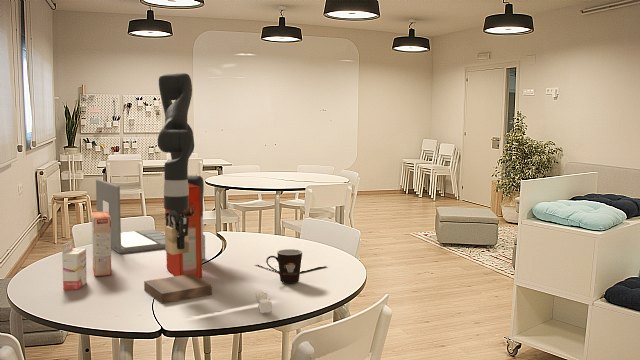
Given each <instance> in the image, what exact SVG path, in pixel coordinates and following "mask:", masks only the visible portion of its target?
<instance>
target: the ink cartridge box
mask: <svg viewBox="0 0 640 360" xmlns="http://www.w3.org/2000/svg"><path fill="white" fill-rule="evenodd" d="M61 253H62V254H61V255H62V257H61V258H62V259H61V260H62V284H63V285H62V288H63V290H65V291H67V290H79V289H81V287H83V286H84V285H85V284H87V282H88V281H87V277H88V276H87V248H73V240H72V239H71V240H69V241H67V242H66V243H64V244H63V245H62V252H61Z"/></svg>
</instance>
